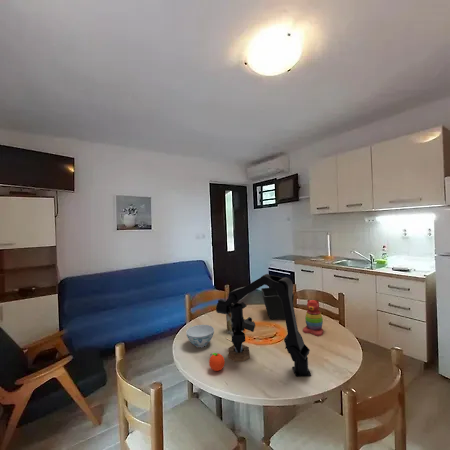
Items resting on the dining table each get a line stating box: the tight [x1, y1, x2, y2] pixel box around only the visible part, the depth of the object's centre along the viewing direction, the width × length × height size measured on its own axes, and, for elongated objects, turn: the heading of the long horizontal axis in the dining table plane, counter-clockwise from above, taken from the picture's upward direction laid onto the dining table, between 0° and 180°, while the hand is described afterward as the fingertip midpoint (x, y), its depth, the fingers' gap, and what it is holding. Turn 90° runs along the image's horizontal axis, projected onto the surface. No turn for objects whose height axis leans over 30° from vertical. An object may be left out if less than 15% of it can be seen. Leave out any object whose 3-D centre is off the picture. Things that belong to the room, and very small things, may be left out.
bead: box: [227, 343, 251, 363], centre depth 125 cm, size 10×10×3 cm
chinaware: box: [185, 324, 215, 348], centre depth 138 cm, size 15×15×8 cm
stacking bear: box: [302, 299, 324, 337], centre depth 147 cm, size 11×10×18 cm
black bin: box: [261, 287, 295, 320], centre depth 172 cm, size 19×19×17 cm
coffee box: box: [225, 303, 244, 335], centre depth 152 cm, size 9×6×16 cm
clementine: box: [208, 352, 226, 372], centre depth 115 cm, size 8×7×7 cm
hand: (238, 347), depth 125 cm, fingers open, 9 cm apart
